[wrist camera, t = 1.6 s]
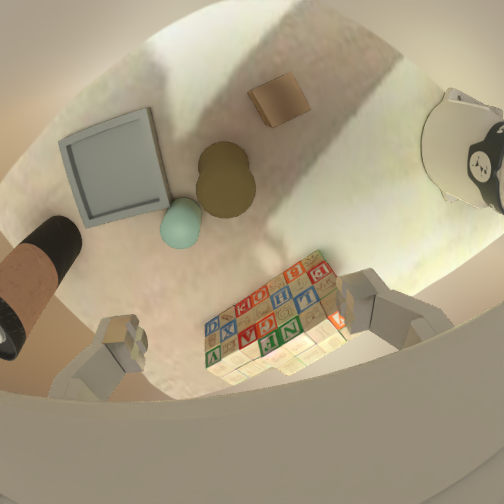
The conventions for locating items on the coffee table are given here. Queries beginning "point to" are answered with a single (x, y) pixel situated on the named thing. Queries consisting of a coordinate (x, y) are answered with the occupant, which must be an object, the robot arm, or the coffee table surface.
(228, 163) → the olive brown pawn
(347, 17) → the coffee table surface
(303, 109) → the walnut cube
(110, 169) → the tray
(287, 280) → the stack of blocks
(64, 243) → the travel mug
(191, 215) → the teal cylinder
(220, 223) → the coffee table surface
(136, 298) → the coffee table surface
